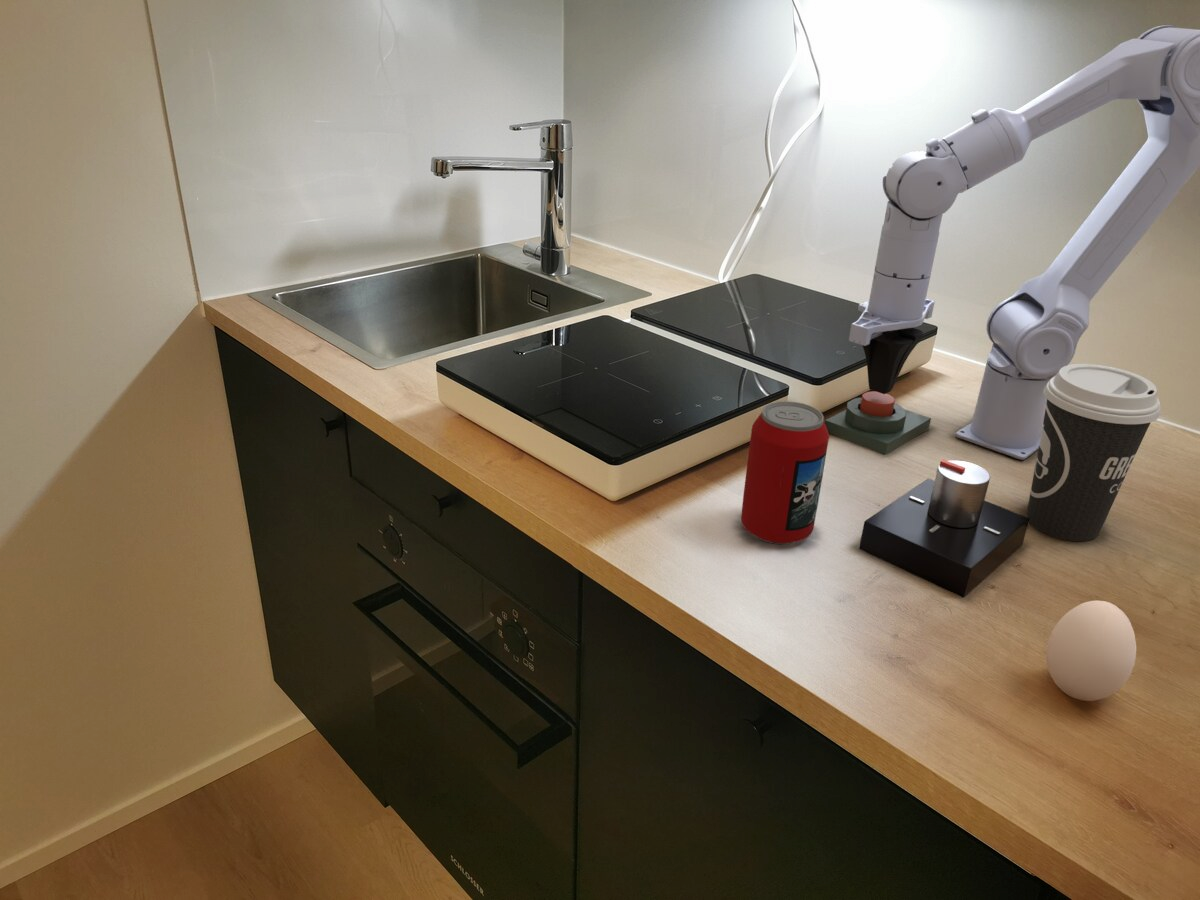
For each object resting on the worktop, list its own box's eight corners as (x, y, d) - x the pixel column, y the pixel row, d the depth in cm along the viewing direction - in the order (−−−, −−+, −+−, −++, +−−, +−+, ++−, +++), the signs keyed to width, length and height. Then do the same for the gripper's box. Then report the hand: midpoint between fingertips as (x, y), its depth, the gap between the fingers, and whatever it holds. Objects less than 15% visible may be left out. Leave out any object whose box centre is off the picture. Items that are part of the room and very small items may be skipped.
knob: (987, 516, 82) (999, 469, 80) (965, 533, 80) (977, 486, 77) (941, 497, 85) (952, 452, 83) (919, 514, 82) (929, 467, 80)
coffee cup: (1066, 559, 82) (1115, 408, 75) (988, 508, 90) (1025, 367, 83) (1140, 539, 86) (1193, 393, 79) (1058, 491, 93) (1100, 355, 87)
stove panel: (922, 504, 90) (928, 476, 89) (1022, 545, 84) (1030, 516, 82) (858, 549, 82) (864, 519, 81) (963, 598, 76) (971, 567, 75)
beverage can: (812, 554, 81) (833, 434, 76) (737, 544, 82) (751, 425, 77) (812, 516, 87) (831, 402, 82) (741, 507, 88) (755, 394, 83)
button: (870, 402, 106) (872, 388, 105) (898, 412, 103) (901, 398, 103) (853, 410, 103) (856, 396, 103) (882, 421, 101) (884, 406, 100)
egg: (1129, 696, 66) (1164, 608, 63) (1099, 731, 63) (1134, 641, 59) (1054, 658, 70) (1083, 572, 66) (1022, 690, 66) (1050, 602, 63)
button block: (868, 407, 111) (872, 384, 110) (928, 429, 106) (934, 405, 105) (823, 430, 104) (826, 407, 103) (885, 455, 100) (890, 430, 98)
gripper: (902, 253, 103) (880, 364, 109) (832, 275, 94) (813, 395, 100) (961, 266, 99) (935, 381, 105) (894, 291, 89) (870, 416, 96)
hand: (879, 390), depth 102 cm, fingers closed
